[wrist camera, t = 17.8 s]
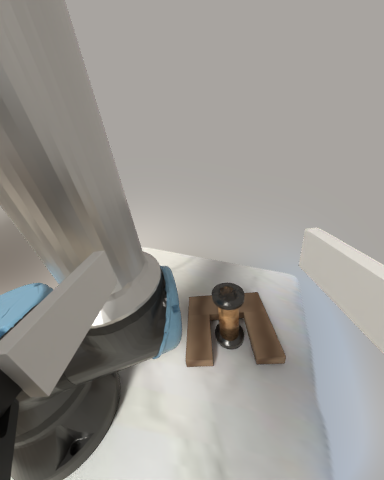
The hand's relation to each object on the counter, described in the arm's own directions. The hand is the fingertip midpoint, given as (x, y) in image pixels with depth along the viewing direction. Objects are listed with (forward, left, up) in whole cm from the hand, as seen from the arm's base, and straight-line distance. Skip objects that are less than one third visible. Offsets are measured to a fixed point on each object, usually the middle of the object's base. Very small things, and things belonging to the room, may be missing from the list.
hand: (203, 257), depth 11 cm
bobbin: (+3, +15, -30) cm, 33 cm away
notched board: (+3, +17, -30) cm, 34 cm away
